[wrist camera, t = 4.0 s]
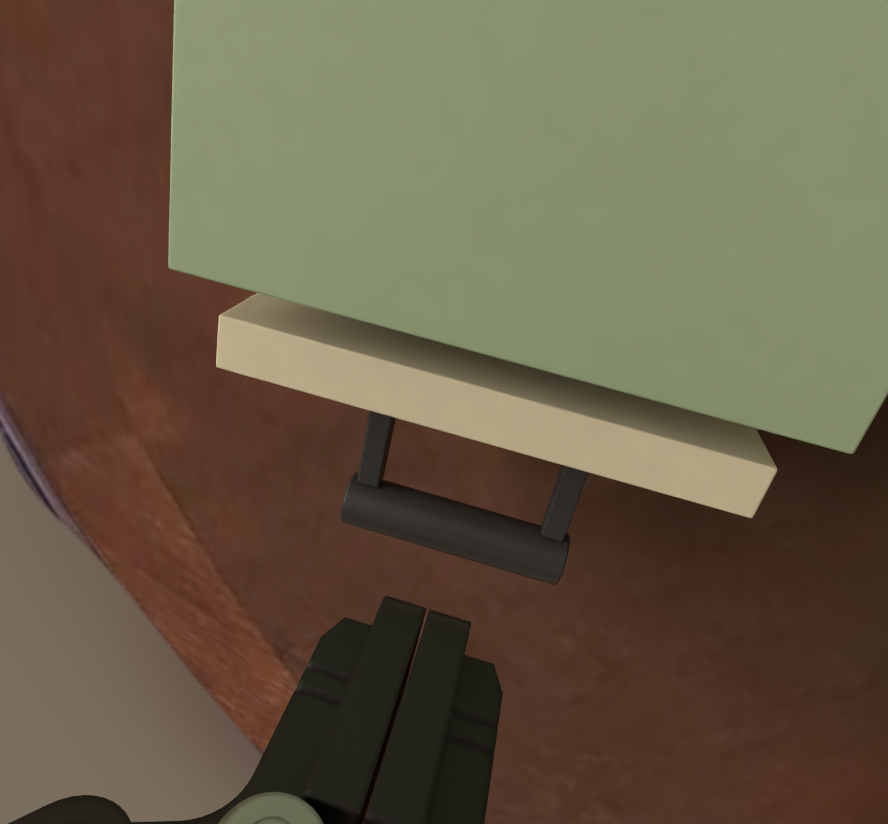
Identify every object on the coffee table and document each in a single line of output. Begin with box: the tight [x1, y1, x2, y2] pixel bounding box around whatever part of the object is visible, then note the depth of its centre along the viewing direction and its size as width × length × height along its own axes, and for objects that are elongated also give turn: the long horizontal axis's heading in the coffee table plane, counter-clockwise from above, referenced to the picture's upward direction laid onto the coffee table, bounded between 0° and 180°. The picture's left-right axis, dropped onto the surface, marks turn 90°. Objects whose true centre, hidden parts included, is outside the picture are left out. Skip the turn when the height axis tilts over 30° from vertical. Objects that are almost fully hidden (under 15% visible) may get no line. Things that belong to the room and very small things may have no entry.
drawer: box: [216, 293, 777, 585], centre depth 15 cm, size 18×11×7 cm, turn 168°
